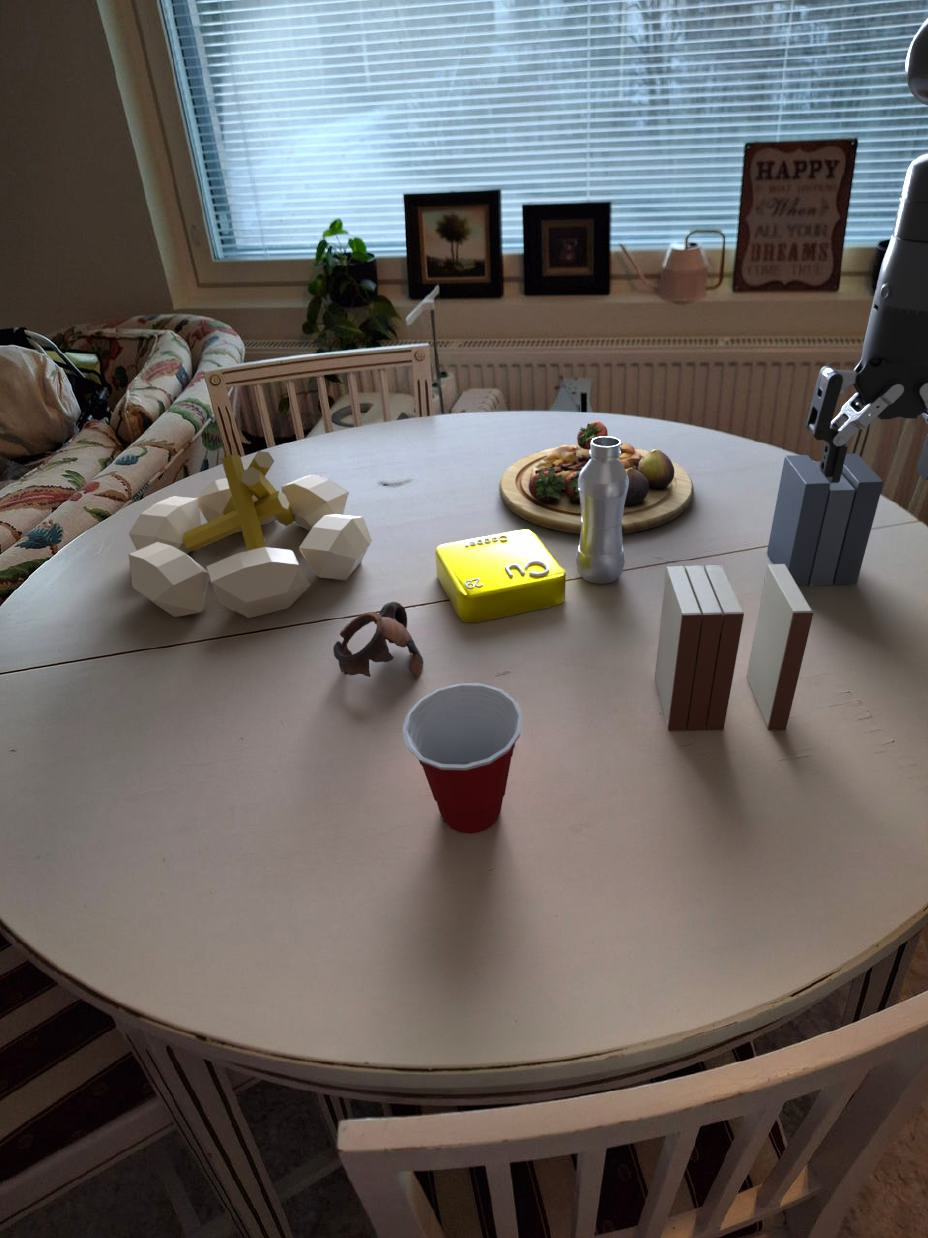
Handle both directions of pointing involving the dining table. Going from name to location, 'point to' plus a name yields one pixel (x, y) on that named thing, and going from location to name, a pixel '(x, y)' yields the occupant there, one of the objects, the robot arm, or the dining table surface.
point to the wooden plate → (552, 493)
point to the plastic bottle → (602, 512)
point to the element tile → (499, 575)
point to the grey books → (823, 520)
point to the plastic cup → (465, 750)
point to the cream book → (778, 645)
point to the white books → (697, 647)
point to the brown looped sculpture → (377, 641)
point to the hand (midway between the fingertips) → (877, 478)
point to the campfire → (260, 571)
